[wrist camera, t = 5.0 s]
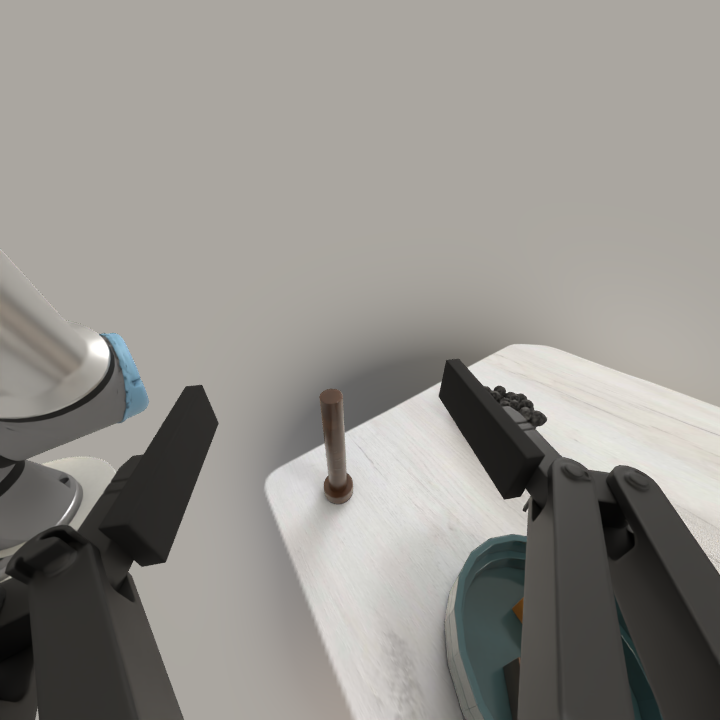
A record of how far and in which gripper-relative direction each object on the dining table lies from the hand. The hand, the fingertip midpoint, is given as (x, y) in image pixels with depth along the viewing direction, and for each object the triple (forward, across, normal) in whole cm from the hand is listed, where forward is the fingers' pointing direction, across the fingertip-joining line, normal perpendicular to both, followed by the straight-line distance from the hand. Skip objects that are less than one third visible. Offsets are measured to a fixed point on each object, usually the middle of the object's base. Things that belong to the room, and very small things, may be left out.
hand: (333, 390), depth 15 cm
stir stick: (+10, 0, -26) cm, 28 cm away
